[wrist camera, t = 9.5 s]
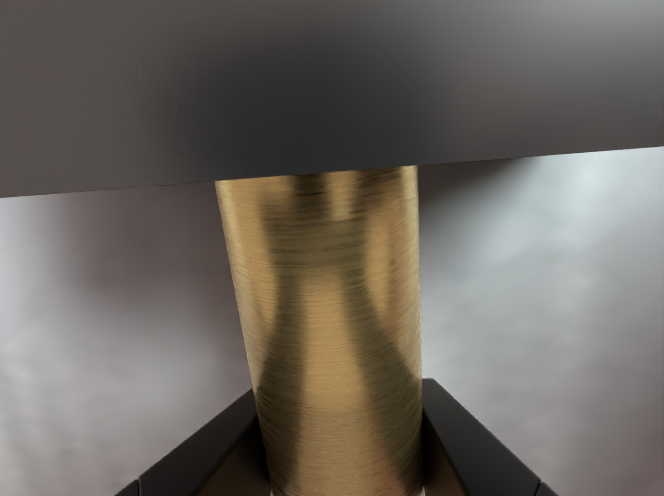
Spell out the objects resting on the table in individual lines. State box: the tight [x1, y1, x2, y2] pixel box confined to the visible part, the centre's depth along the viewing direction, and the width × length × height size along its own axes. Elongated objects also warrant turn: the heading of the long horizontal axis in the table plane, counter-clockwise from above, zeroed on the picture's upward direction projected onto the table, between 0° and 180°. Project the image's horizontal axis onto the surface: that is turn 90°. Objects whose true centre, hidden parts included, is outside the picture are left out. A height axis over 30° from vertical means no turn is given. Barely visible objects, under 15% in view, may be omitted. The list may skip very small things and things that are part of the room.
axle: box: [214, 165, 424, 496], centre depth 6 cm, size 3×14×3 cm, turn 5°
